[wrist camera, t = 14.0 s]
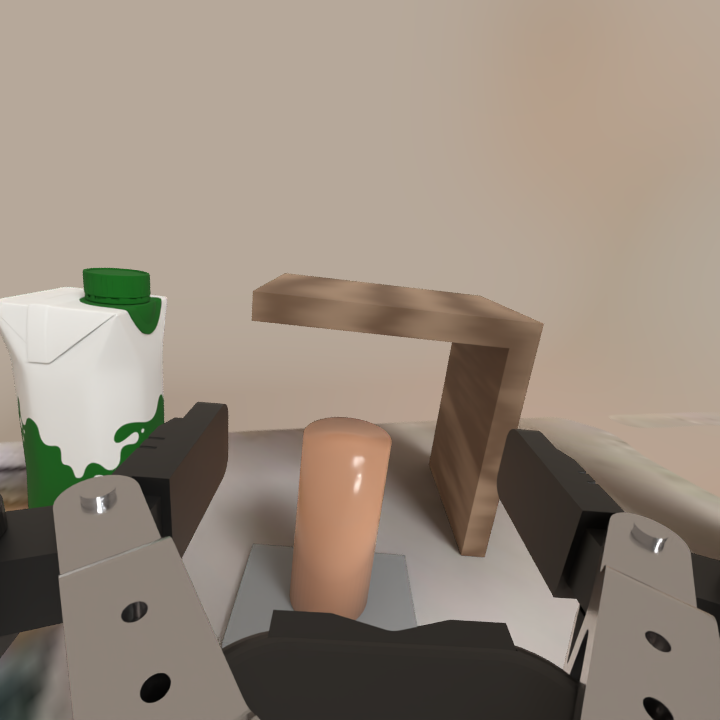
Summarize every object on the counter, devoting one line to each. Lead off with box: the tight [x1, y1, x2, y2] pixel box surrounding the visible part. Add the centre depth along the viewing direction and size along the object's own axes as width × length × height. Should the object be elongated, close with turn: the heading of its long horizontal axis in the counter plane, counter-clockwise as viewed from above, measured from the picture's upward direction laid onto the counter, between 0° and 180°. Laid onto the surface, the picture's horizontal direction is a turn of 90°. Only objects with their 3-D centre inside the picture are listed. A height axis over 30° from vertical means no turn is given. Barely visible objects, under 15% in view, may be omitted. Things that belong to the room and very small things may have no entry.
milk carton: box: [0, 268, 167, 509], centre depth 31 cm, size 9×9×20 cm
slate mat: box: [222, 544, 417, 648], centre depth 28 cm, size 12×8×1 cm, turn 92°
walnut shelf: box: [252, 273, 543, 557], centre depth 37 cm, size 20×14×20 cm
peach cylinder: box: [289, 417, 392, 620], centre depth 26 cm, size 5×5×12 cm
